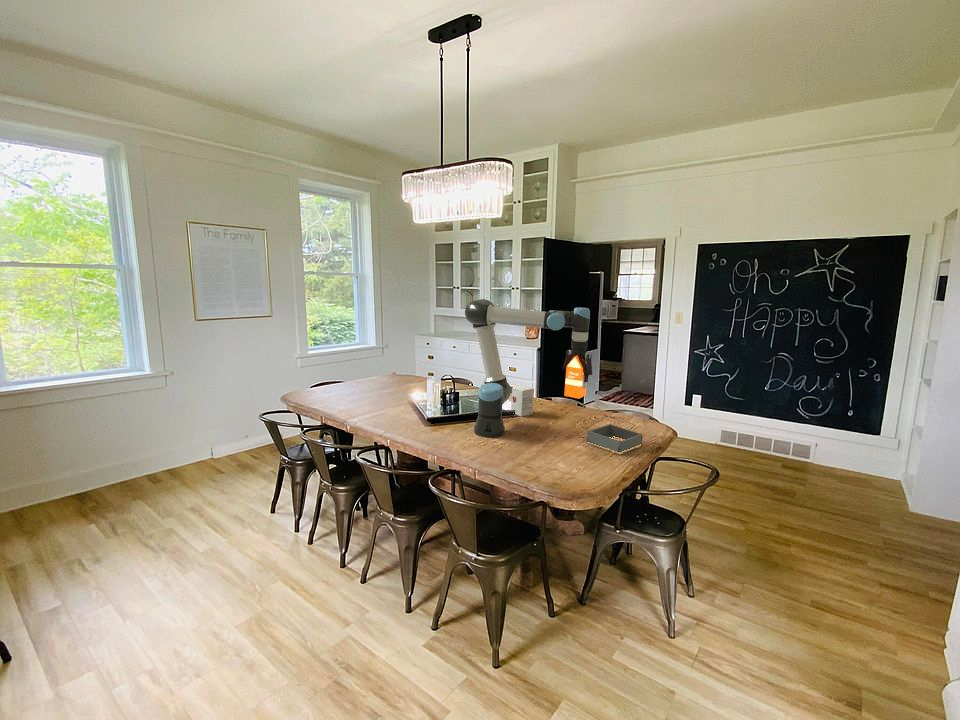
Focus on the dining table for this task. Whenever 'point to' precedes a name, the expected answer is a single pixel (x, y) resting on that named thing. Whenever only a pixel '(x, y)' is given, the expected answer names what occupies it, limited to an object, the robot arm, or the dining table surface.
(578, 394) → the orange juice
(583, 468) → the dining table surface
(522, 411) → the supplement box
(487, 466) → the dining table surface
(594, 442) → the bin
